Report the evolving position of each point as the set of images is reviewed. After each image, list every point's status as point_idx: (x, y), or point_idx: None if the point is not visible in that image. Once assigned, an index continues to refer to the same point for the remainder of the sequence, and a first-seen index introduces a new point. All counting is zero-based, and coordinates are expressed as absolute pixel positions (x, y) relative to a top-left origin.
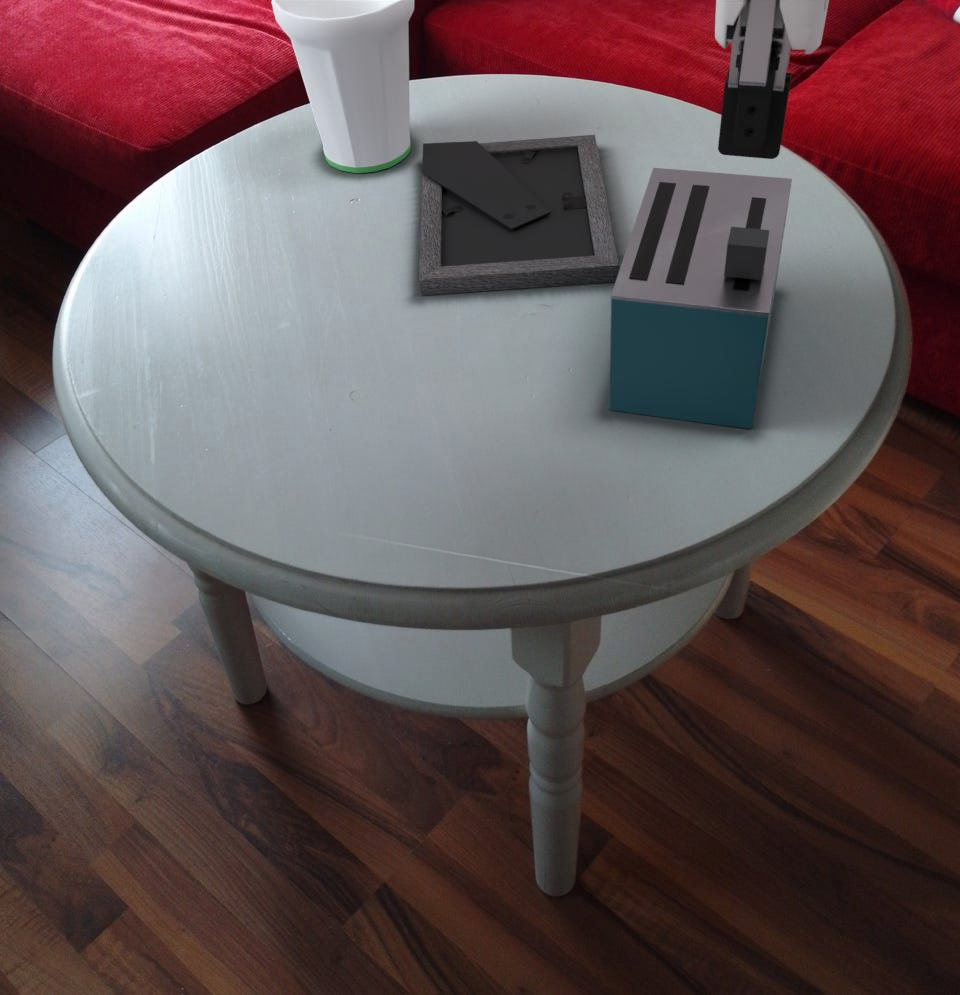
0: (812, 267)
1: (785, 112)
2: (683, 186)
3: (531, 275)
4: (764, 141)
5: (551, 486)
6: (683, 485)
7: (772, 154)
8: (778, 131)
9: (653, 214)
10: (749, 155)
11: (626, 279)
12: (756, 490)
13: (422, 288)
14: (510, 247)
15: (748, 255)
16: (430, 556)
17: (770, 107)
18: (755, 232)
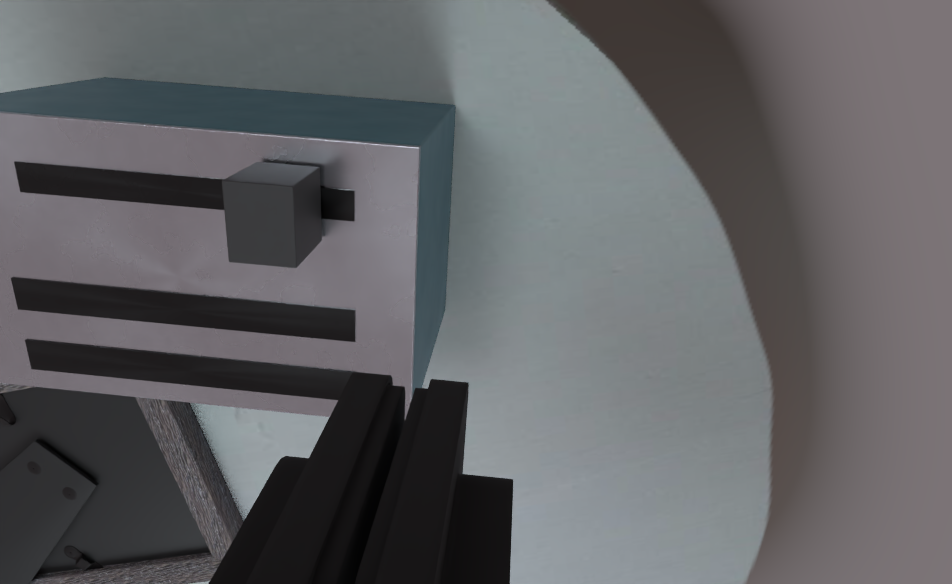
0: (7, 8)
1: (418, 486)
2: (29, 325)
3: (192, 446)
4: (510, 487)
5: (601, 366)
6: (586, 199)
7: (466, 403)
8: (457, 453)
9: (145, 374)
10: (462, 466)
11: None
12: (587, 92)
13: None
14: (136, 478)
15: (303, 215)
16: (728, 479)
17: (441, 574)
18: (238, 210)
